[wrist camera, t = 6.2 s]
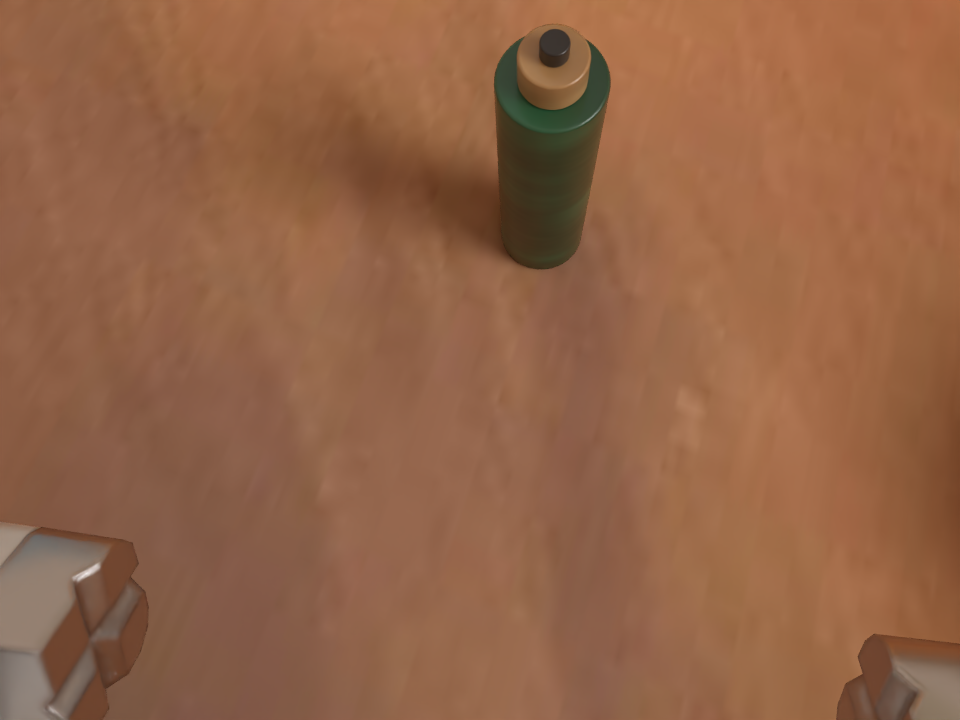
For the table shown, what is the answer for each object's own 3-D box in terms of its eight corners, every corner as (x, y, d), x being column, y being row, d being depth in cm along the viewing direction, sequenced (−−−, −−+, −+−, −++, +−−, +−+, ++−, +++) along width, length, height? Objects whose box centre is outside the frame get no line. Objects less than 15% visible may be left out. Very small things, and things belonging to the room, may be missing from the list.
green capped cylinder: (521, 282, 29) (524, 117, 18) (488, 214, 30) (472, 16, 19) (594, 250, 29) (639, 67, 18) (560, 183, 30) (585, -31, 19)
